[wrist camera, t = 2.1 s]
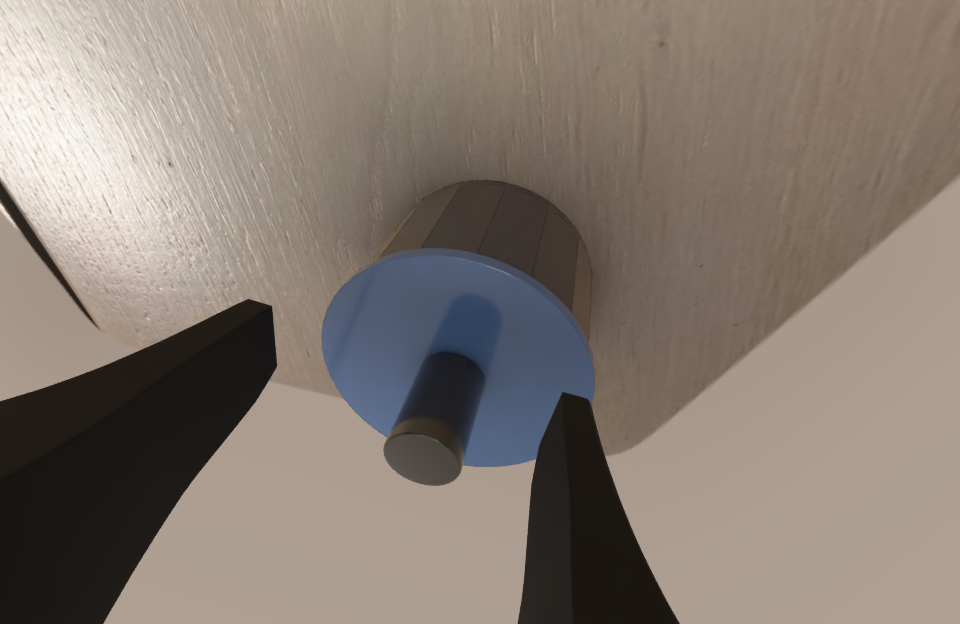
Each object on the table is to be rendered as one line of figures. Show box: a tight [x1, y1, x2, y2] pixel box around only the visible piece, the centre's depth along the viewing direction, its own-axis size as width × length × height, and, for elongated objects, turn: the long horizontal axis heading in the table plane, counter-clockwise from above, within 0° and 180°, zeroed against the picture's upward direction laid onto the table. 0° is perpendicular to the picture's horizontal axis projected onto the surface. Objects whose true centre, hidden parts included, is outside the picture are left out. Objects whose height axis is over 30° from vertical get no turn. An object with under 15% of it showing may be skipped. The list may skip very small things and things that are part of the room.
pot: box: [370, 181, 592, 342], centre depth 20 cm, size 9×9×6 cm
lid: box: [322, 248, 595, 486], centre depth 16 cm, size 10×10×5 cm
